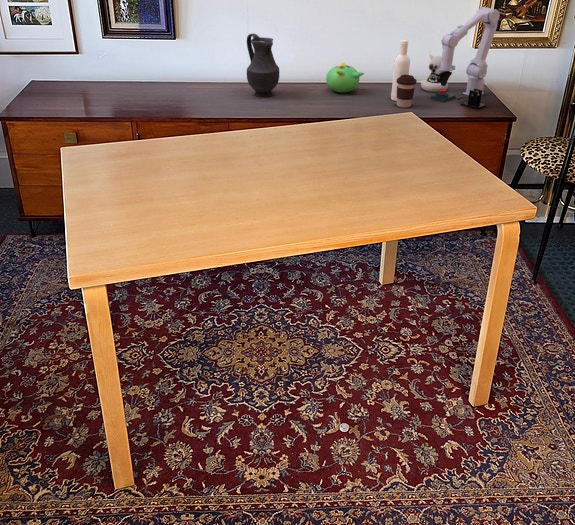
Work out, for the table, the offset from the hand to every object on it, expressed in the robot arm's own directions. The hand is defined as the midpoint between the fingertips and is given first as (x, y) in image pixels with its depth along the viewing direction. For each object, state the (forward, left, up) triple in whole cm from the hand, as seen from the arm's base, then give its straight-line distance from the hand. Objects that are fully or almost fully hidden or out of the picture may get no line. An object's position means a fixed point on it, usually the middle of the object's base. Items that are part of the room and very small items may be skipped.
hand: (443, 85), depth 332 cm
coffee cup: (+24, -6, -7) cm, 26 cm away
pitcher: (+66, -69, -7) cm, 96 cm away
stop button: (0, 0, -4) cm, 4 cm away
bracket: (-3, +18, -7) cm, 20 cm away
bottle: (+17, -15, -7) cm, 24 cm away
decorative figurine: (-12, -13, -7) cm, 19 cm away
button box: (-2, 0, -7) cm, 7 cm away
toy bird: (+30, -43, -7) cm, 53 cm away
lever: (-3, +15, -4) cm, 16 cm away
